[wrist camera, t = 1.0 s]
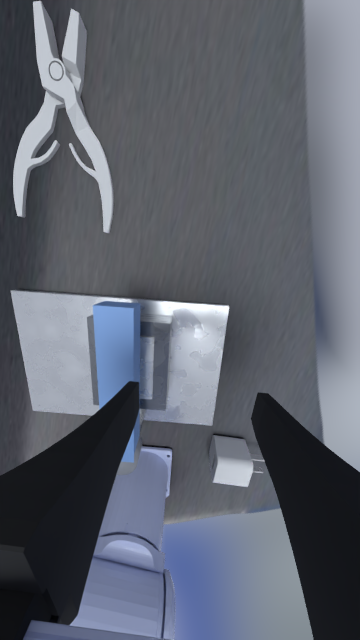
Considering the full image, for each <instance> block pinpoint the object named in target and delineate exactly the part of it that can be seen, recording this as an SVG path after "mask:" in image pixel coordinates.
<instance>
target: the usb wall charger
mask: <svg viewBox="0 0 360 640" xmlns="http://www.w3.org/2000/svg"><path fill="white" fill-rule="evenodd" d="M262 457H263V455H258V454H251V453H249V450H248V447H247V444H246V441H245V439H239V438H232V437H224V436H217V435H213V437H212V442H211V446H210V450H209V462H210V470H211V478H212V482H214V483H222V484H229V485H236V486H243V487H248V484H249V481H250V478H251V475H252V472H257V473H263V470H262V467H258V466H253V462H252V460H256V461H264V460H263V459H262ZM258 468H260V469H261V471H259V470H258Z"/></svg>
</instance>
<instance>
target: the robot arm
mask: <svg viewBox="0 0 360 640" xmlns="http://www.w3.org/2000/svg"><path fill="white" fill-rule="evenodd" d="M139 408H140V404H139V382H134V381H129V382H128V383H127V384H126V385H125V386H124V387H123V388H122V389H121V390H120V391H119V392H118V393H117V394H116V395H115V396H114V397H113V398H112V399H110V400H109V401H108V402H107V403H106V404H105V405H104V406H103V407H102V408H101V409H100V410H98V411H97V412H96V413H95V414H94V415H93V416H92V417H90V418H89V419H88V420H87V421H85V422H84V423H83V424H82V425H80V426H79V427H78V428H77V429H75V430H74V431H73V432H71V433H70V434H68V435H67V436H66V437H64V438H63V439H61V440H60V441H58V442H57V443H55V444H54V445H52V446H51V447H49V448H48V449H46V450H45V451H43V452H41V453H40V454H38V455H36V456H35V457H33V458H31V459H30V460H28V461H26V462H25V463H23V464H21V465H19V466H18V467H16V468H14V469H12V470H10V471H9V472H7V473H5V474H3V475H1V476H0V640H174V633H175V590H174V584H173V581H172V579H171V575H170V572H169V570H167V569H164V560H165V559H164V558H165V554H164V553H163V552H161V543H162V532H163V521H164V511H165V500H166V497H168V496H169V490H170V476H171V462H172V450H171V449H168V448H157V447H145V446H142V447H141V451H140V455H139V459H138V463H137V467H136V468H135V470H134V471H133V472H131V473H129V474H126V475H116V474H117V471H118V468H119V466H120V463H121V460H122V458H123V455H124V453H125V450H126V447H127V445H128V442H129V440H130V437H131V434H132V432H133V429H134V426H135V423H136V420H137V416H138V412H139ZM251 420H252V424H253V429H254V432H255V436H256V439H257V442H258V445H259V447H260V450H261V453H262V455H263V458H264V461H265V463H266V466H267V469H268V471H269V474H270V476H271V479H272V482H273V485H274V487H275V490H276V493H277V497H278V500H279V503H280V507H281V510H282V514H283V517H284V521H285V524H286V528H287V532H288V535H289V539H290V543H291V546H292V550H293V554H294V558H295V562H296V566H297V569H298V574H299V578H300V582H301V586H302V590H303V594H304V598H305V603H306V607H307V612H308V616H309V620H310V625H311V629H312V634H313V637H314V640H360V472H358V471H357V470H356V469H355V468H353V467H352V466H351V465H349V464H348V463H346V462H345V461H344V460H343V459H341V458H340V457H339V456H337V455H336V454H335V453H334V452H332V451H331V450H330V449H329V448H327V447H326V446H325V445H324V444H323V443H321V442H320V441H319V440H318V439H317V438H316V437H314V436H313V435H312V434H311V433H310V432H309V431H308V430H306V429H305V428H304V427H303V426H302V425H301V424H300V423H299V422H298V421H297V420H295V419H294V418H293V417H292V416H291V415H290V414H289V413H288V412H287V411H286V410H285V409H284V408H283V407H282V406H281V405H280V404H279V403H278V402H277V401H276V400H275V399H274V398H272V397H271V396H270V395H269V394H268V393H258V394H257V398H256V401H255V405H254V409H253V413H252V417H251ZM115 477H116V478H115ZM114 480H115V481H114Z"/></svg>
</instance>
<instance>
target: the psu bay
mask: <svg viewBox="0 0 360 640" xmlns="http://www.w3.org/2000/svg"><path fill="white" fill-rule="evenodd" d="M11 295H12V301H13V306H14V311H15V317H16V322H17V327H18V333H19V338H20V344H21V349H22V354H23V360H24V365H25V370H26V376H27V381H28V386H29V392H30V397H31V402H32V408H33V411H44V412H56V413H68V414H80V415H92V416H93V415H94V414H95V413H96V412H97V411H98V410H99V395H98V379H97V364H96V349H95V334H94V318H93V305H95V304H97V303H100V302H103V301H114V302H128V303H140V429H139V434H140V430H141V427H142V423H143V420H151V421H163V422H175V423H187V424H199V425H211V426H212V423H213V416H214V409H215V402H216V395H217V388H218V382H219V375H220V368H221V361H222V354H223V347H224V340H225V333H226V326H227V319H228V312H229V306H228V305H225V304H211V303H198V302H184V301H170V300H156V299H142V298H128V297H115V296H101V295H87V294H73V293H59V292H45V291H32V290H11Z"/></svg>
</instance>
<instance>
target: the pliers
mask: <svg viewBox="0 0 360 640" xmlns="http://www.w3.org/2000/svg"><path fill="white" fill-rule="evenodd" d="M33 9H34V24H35V38H36V53H37V63H38V67H39V72H40V76H41V81H42V86H43V87H44V88H45V90H46V94H45V99H44V104H43V106H42V107H41V109H40V111H39V113H38V115H37V117H36V118H35V119H34V120H33V121H32V122H31V123H30V125H29V126H28V127H27V129H26V130H25V132H24V134H23V136H22V139H21V141H20V144H19V147H18V151H17V155H16V160H15V166H14V176H13V190H14V200H15V206H16V211H17V216H20V217H25V206H26V194H27V186H28V181H29V176H30V171H31V170H32V169H33V168H35V167H37V166H40V165H43V164H45V163H46V162H48V161H49V160H50V159H51V158H52V157H53V156H54V154H55V153H56V151H57V150H58V148H59V146H60V144H59V143H58V142H57V141H56V140H55V141H54V143H53V145H52V146H51V148H50V149H49V150H48V152H47V153H46V154H44V155H43V156H41V157H40V158H35V156H36V154H37V151H38V150H39V149H40V147H41V146H42V145H43V143H44V142H45V141H46V140H47V139H48V137H49V136H50V135H51V134H52V133H53V131H54V127H55V123H56V118H57V113H58V109H59V108H65V107H66V111H67V114H68V116H69V119H70V121H71V123H72V126H73V128H74V131H75V133H76V135H77V136H78V138H79V140H80V141H81V143H82V144H83V146H84V148H85V149H86V151H87V153H88V154H89V156H90V158H91V160H92V162H93V165H94V168H95V171H94V170H92V169H90V168H88V167H86V166H85V165H84V164H83V163H82V161H81V159H80V158H79V156H78V154H77V152H76V150H75V148H74V146H73V145H72V144H71V143H70V144H69V146H70V148H71V150H72V153H73V155H74V156H75V158H76V160H77V162H78V163H79V164H80V165H81V166H82V168H83V169H84V170H85V171H86V172H87V173H88V174H90V175H91V176H93V177H94V178H95V179H96V180H97V181H98V183H99V188H100V193H101V199H102V209H103V225H104V232H105V233H109V234H110V230H111V225H112V220H113V213H114V191H113V184H112V178H111V173H110V168H109V165H108V161H107V158H106V155H105V153H104V150H103V148H102V146H101V143H100V142H99V140H98V139H97V137H96V136H95V134H94V133H93V131H92V130H91V128H90V125H89V123H88V120H87V118H86V116H85V112H84V107H83V104H82V101H81V98H80V96H81V92H82V88H83V84H84V70H85V55H86V41H87V31H86V29H85V26H84V24H83V21H82V19H81V17H80V14H79V13H78V12H76V11H75V10H73V9H71V13H70V18H69V23H68V28H67V33H66V38H65V42H64V47H63V52H62V59H63V63H64V64H63V63H62V62H61V60H60V59H59V54H58V49H57V44H56V38H55V33H54V28H53V23H52V21H51V19H50V17H49V15H48V13H47V12H46V10H45V8H44V6H43V4H42V2H41V1H37V2H33Z"/></svg>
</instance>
